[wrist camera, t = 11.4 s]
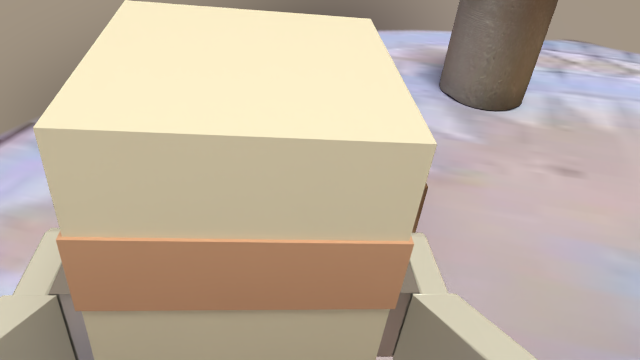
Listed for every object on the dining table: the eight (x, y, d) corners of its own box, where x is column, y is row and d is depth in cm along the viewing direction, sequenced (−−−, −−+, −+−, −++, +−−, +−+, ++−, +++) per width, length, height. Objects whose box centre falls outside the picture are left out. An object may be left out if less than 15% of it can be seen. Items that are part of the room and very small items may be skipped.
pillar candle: (520, 84, 62) (565, -46, 53) (523, 119, 54) (577, -27, 45) (441, 69, 63) (472, -59, 55) (433, 101, 56) (468, -43, 47)
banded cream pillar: (314, 364, 14) (373, 18, 9) (330, 528, 11) (442, 146, 5) (167, 367, 14) (122, -2, 8) (138, 541, 10) (25, 129, 5)
